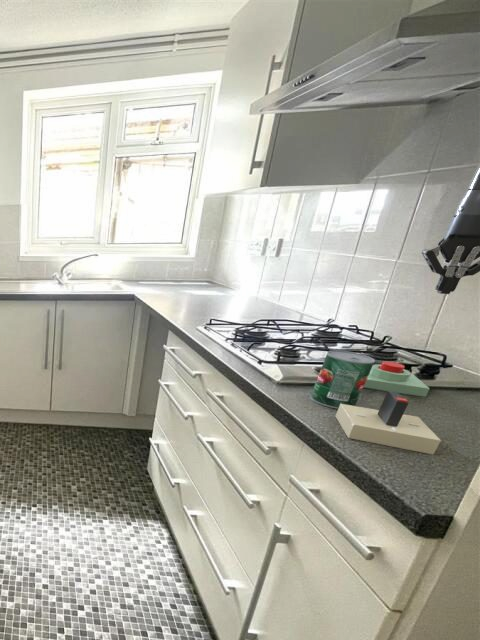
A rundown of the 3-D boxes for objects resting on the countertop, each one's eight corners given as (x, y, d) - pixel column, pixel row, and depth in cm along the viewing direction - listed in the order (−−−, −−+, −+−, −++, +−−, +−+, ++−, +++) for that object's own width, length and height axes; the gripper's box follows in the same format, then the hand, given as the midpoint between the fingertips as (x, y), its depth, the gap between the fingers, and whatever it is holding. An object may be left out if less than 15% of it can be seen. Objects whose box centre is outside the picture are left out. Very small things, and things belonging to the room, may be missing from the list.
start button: (398, 369, 102) (401, 363, 101) (404, 375, 99) (407, 368, 98) (377, 366, 104) (379, 360, 103) (382, 372, 100) (385, 365, 100)
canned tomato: (302, 393, 98) (318, 349, 93) (339, 395, 96) (358, 351, 92) (323, 408, 90) (342, 361, 86) (364, 411, 89) (385, 363, 85)
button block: (408, 382, 104) (415, 367, 103) (425, 397, 96) (433, 381, 94) (347, 373, 109) (353, 359, 108) (359, 386, 101) (365, 371, 100)
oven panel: (411, 430, 82) (418, 415, 81) (433, 455, 74) (441, 439, 73) (335, 416, 87) (340, 402, 86) (348, 438, 79) (354, 423, 78)
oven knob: (377, 413, 82) (388, 389, 80) (387, 415, 81) (399, 391, 79) (385, 424, 78) (397, 399, 76) (397, 426, 77) (409, 401, 75)
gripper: (514, 213, 90) (474, 293, 97) (431, 211, 95) (399, 287, 102) (536, 213, 84) (492, 299, 91) (446, 212, 89) (411, 293, 96)
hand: (442, 293), depth 97 cm, fingers closed
